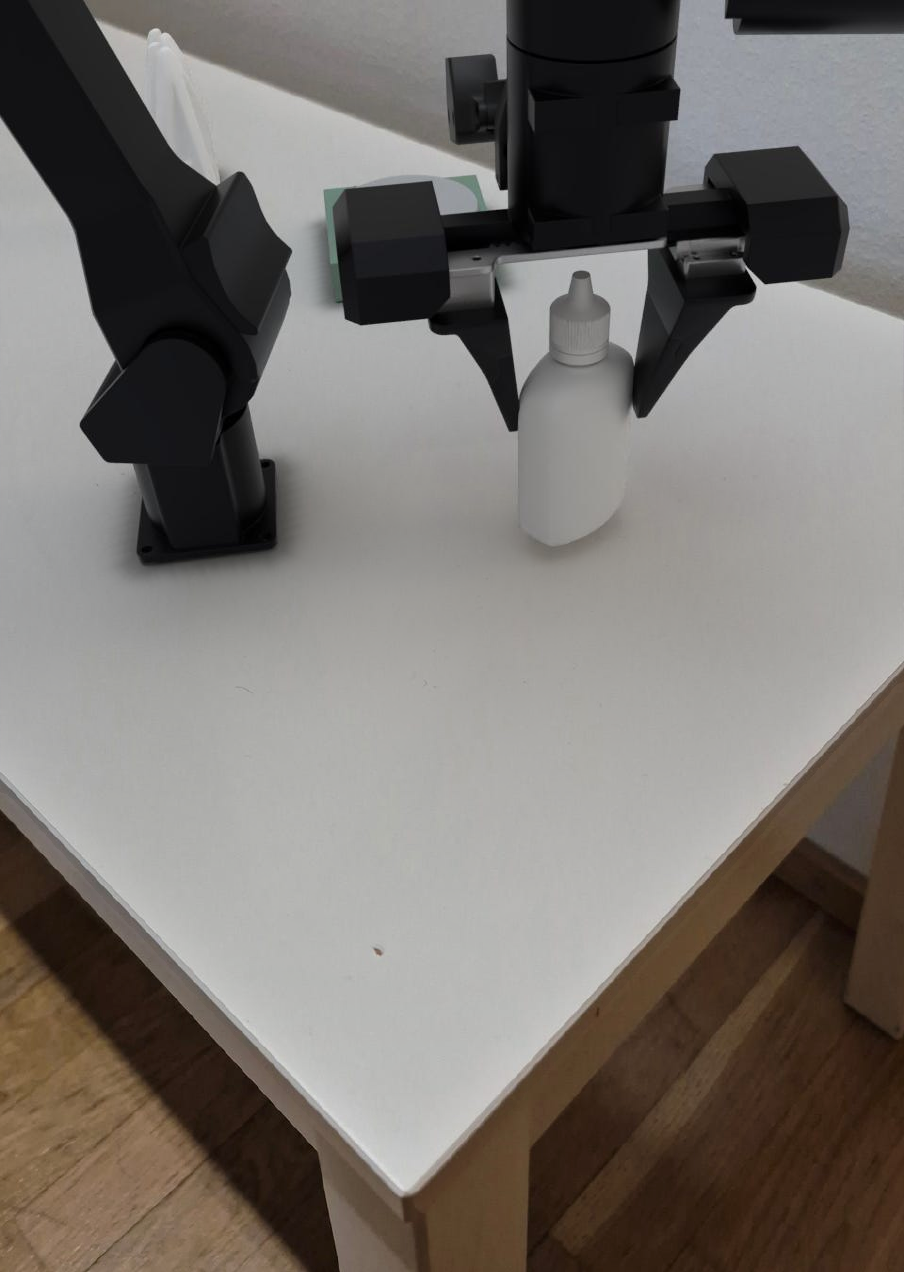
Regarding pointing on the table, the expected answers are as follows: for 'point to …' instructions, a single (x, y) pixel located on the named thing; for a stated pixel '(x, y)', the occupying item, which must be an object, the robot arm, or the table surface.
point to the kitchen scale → (449, 191)
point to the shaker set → (178, 105)
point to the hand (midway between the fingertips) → (576, 419)
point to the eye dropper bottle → (574, 422)
